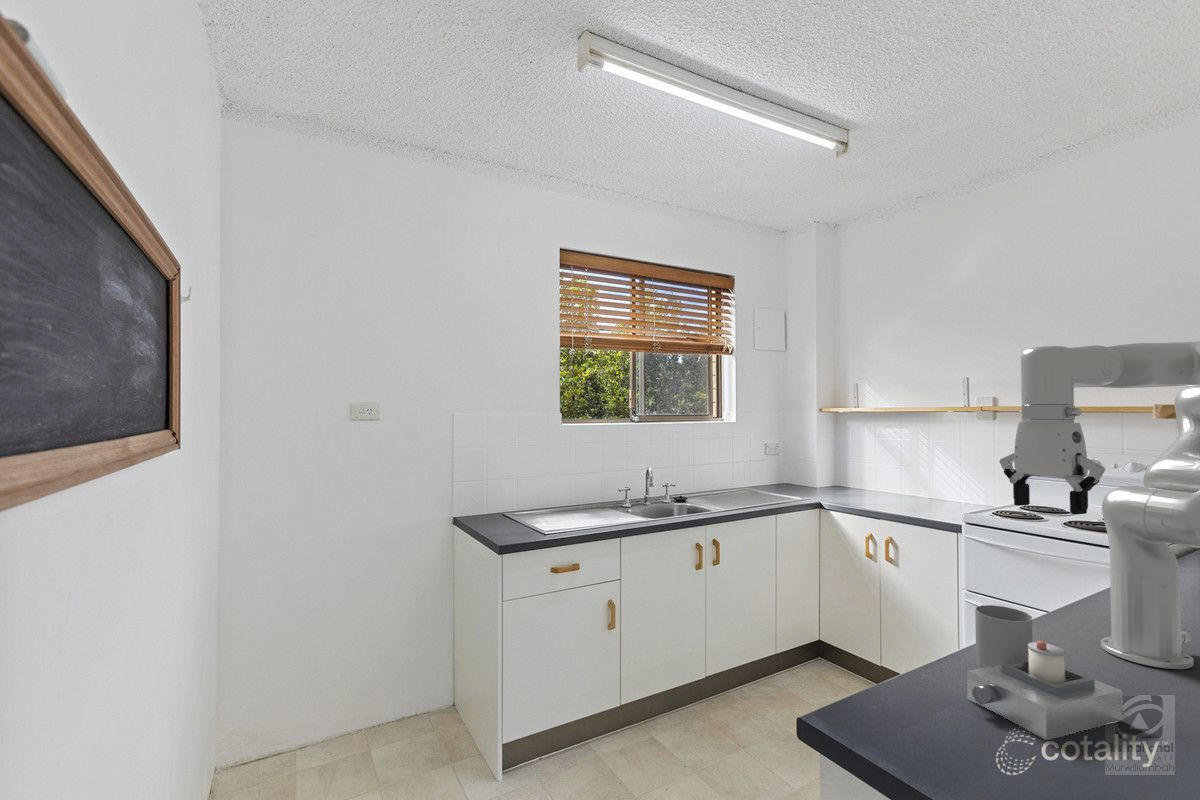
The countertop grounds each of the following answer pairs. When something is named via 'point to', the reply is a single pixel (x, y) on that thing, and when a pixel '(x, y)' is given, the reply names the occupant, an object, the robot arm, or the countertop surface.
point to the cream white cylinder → (1046, 662)
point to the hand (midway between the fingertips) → (1048, 509)
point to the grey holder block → (1044, 699)
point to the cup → (1001, 635)
